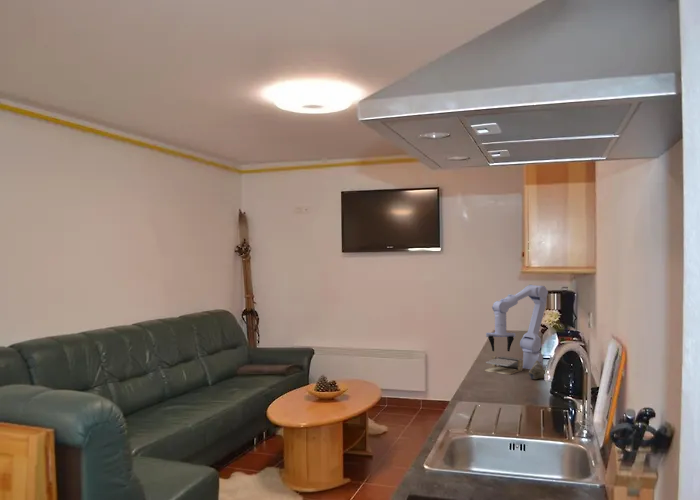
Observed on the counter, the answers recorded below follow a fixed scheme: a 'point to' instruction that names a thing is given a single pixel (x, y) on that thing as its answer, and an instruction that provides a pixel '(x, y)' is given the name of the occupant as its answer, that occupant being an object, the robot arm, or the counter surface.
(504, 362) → the trapdoor
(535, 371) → the rock
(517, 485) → the counter surface
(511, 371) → the frame
